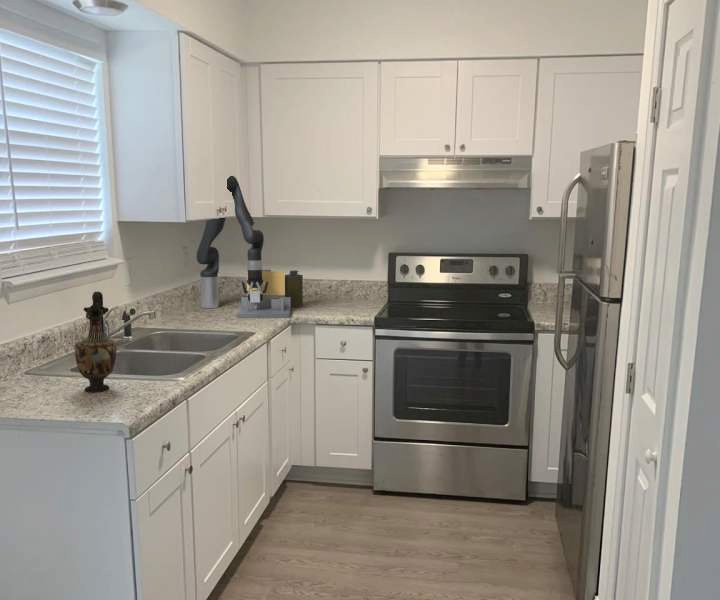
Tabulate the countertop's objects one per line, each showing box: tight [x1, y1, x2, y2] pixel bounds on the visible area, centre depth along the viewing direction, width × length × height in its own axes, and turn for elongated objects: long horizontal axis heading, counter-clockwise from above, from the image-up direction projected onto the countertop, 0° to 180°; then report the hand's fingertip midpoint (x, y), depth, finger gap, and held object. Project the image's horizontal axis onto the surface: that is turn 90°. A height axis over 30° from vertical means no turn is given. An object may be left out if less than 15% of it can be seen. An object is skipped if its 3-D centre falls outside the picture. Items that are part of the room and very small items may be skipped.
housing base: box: [236, 296, 292, 319], centre depth 316 cm, size 20×26×9 cm
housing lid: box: [246, 269, 286, 297], centre depth 324 cm, size 14×20×1 cm
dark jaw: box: [271, 298, 281, 311], centre depth 319 cm, size 5×5×6 cm
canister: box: [284, 270, 304, 308], centre depth 343 cm, size 11×10×20 cm
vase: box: [74, 291, 118, 393], centre depth 186 cm, size 12×12×30 cm
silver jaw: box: [250, 290, 260, 302], centre depth 317 cm, size 5×5×6 cm
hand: (255, 300), depth 318 cm, fingers closed on silver jaw, 5 cm apart
